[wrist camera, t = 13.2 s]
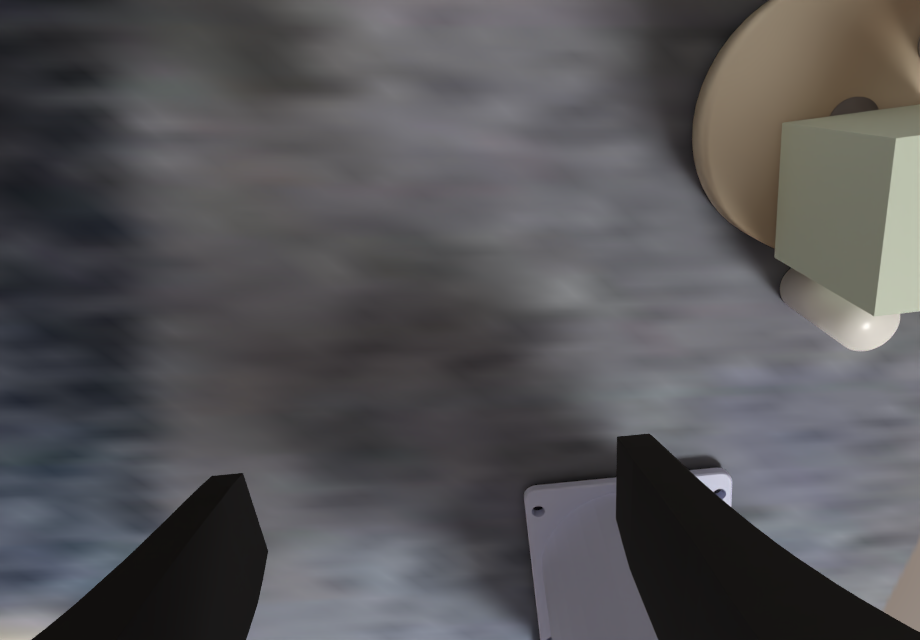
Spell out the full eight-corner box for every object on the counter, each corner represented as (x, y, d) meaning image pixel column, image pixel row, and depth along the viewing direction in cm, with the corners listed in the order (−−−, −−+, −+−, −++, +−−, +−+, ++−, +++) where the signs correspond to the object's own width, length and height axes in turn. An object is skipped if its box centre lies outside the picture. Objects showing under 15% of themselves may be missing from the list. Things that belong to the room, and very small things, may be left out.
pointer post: (831, 306, 21) (896, 347, 18) (778, 312, 21) (833, 354, 18) (835, 257, 21) (904, 290, 17) (781, 263, 21) (838, 297, 17)
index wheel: (1015, 13, 18) (1239, -15, 12) (880, 270, 20) (1015, 334, 15) (756, -63, 17) (878, -125, 12) (654, 212, 20) (717, 258, 15)
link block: (909, 241, 18) (1056, 296, 14) (774, 257, 19) (873, 316, 14) (928, 102, 17) (1100, 111, 12) (782, 122, 17) (895, 138, 13)
